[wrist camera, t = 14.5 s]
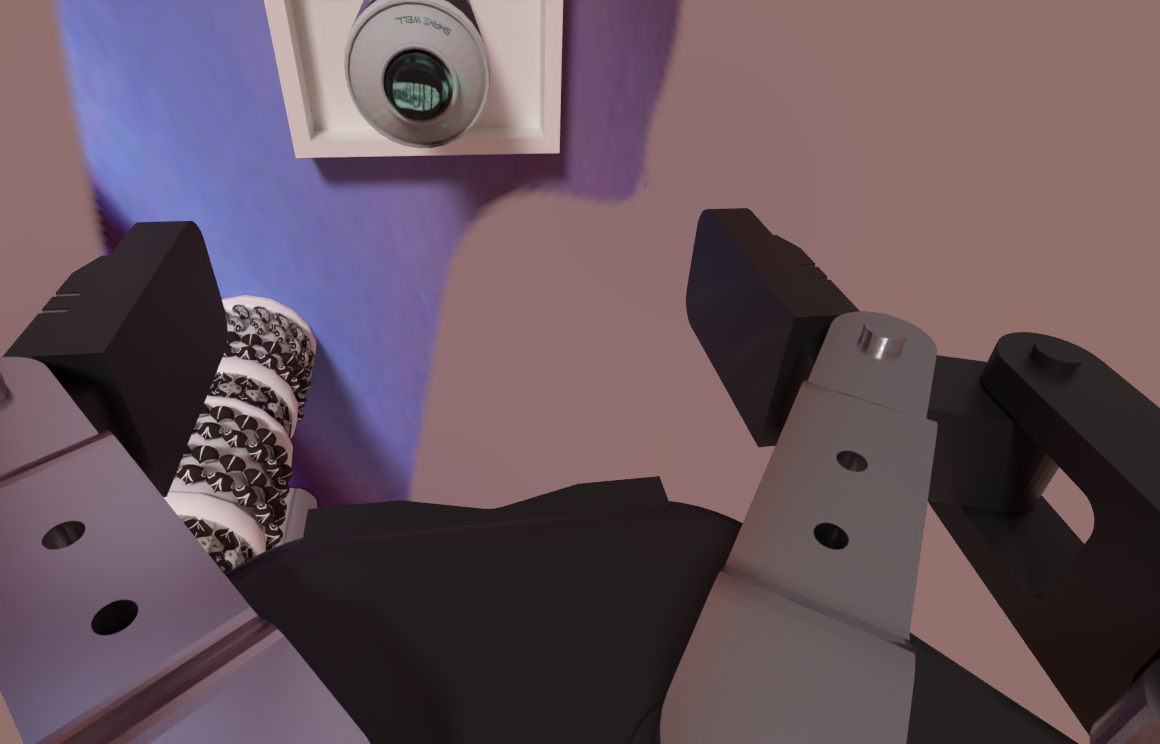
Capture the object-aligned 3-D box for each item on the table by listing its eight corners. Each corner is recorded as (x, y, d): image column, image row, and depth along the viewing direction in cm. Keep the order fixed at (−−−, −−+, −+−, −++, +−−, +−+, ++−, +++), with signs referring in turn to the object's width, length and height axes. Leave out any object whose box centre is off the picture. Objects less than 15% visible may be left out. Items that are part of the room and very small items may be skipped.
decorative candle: (304, 405, 56) (237, 706, 36) (177, 373, 52) (23, 689, 32) (338, 315, 51) (282, 599, 32) (202, 273, 48) (43, 565, 28)
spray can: (484, 28, 41) (523, 130, 25) (404, 71, 42) (393, 197, 26) (436, -71, 38) (447, -26, 22) (350, -23, 38) (300, 56, 23)
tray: (240, -181, 35) (227, -184, 32) (558, -162, 37) (566, -164, 35) (302, 141, 44) (295, 157, 42) (552, 138, 47) (559, 153, 44)
